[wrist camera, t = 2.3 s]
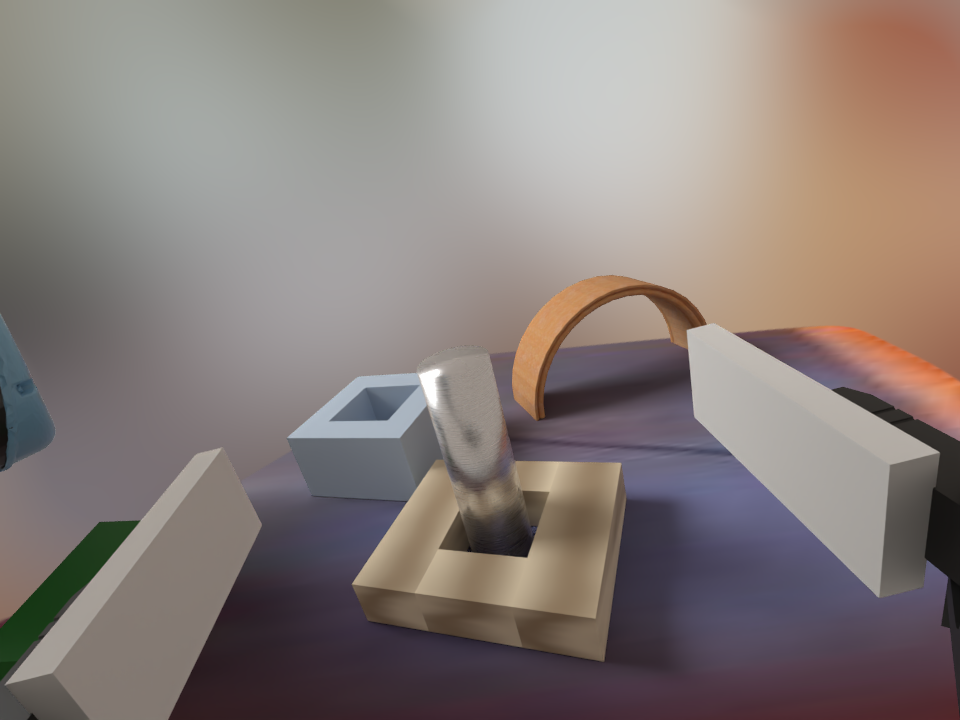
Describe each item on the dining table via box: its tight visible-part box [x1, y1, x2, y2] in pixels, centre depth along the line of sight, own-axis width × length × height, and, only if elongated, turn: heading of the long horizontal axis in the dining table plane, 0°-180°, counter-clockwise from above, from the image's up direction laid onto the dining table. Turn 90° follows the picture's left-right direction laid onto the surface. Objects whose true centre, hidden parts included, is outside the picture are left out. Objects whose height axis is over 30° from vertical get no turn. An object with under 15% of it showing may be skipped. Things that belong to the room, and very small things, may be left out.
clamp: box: [0, 521, 140, 681], centre depth 33 cm, size 12×6×9 cm, turn 177°
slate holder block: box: [287, 373, 444, 501], centre depth 45 cm, size 11×11×6 cm
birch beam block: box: [352, 460, 626, 662], centre depth 32 cm, size 14×12×3 cm
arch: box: [512, 275, 707, 421], centre depth 50 cm, size 6×20×10 cm, turn 108°
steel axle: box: [417, 345, 534, 558], centre depth 30 cm, size 4×4×14 cm
